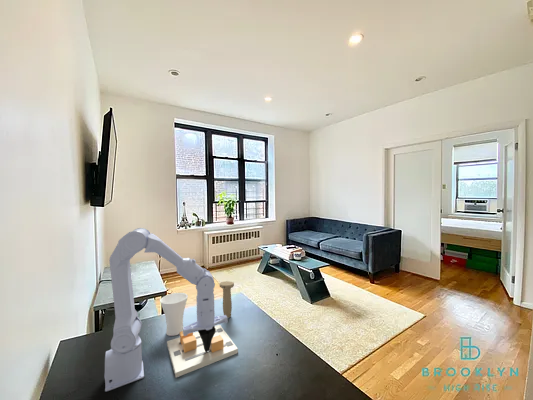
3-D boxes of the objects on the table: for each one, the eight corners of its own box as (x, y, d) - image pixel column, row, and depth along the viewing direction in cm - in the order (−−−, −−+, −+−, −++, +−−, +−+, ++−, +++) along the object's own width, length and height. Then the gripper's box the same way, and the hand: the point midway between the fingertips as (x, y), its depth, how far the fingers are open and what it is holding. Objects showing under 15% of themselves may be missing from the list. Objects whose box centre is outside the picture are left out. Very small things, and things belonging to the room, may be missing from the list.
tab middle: (184, 352, 76) (184, 343, 76) (182, 347, 79) (182, 338, 79) (196, 348, 78) (196, 339, 78) (194, 343, 81) (194, 335, 81)
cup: (160, 328, 94) (159, 295, 94) (186, 321, 99) (186, 290, 99) (161, 342, 85) (160, 306, 85) (190, 334, 89) (189, 299, 89)
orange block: (212, 352, 76) (211, 343, 76) (209, 347, 78) (208, 338, 78) (223, 348, 78) (223, 339, 78) (220, 343, 80) (220, 334, 80)
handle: (232, 320, 99) (231, 285, 99) (218, 318, 101) (217, 284, 101) (236, 314, 104) (235, 281, 104) (223, 313, 105) (222, 281, 105)
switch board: (175, 377, 67) (175, 372, 67) (167, 345, 83) (167, 341, 83) (237, 352, 78) (237, 348, 78) (220, 328, 93) (219, 324, 93)
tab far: (181, 344, 80) (181, 336, 80) (179, 340, 83) (179, 331, 83) (193, 340, 82) (192, 332, 82) (191, 336, 85) (190, 328, 85)
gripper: (185, 320, 69) (186, 365, 69) (230, 307, 77) (231, 348, 77) (181, 311, 75) (182, 352, 75) (223, 300, 83) (224, 337, 83)
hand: (206, 349), depth 76 cm, fingers closed
